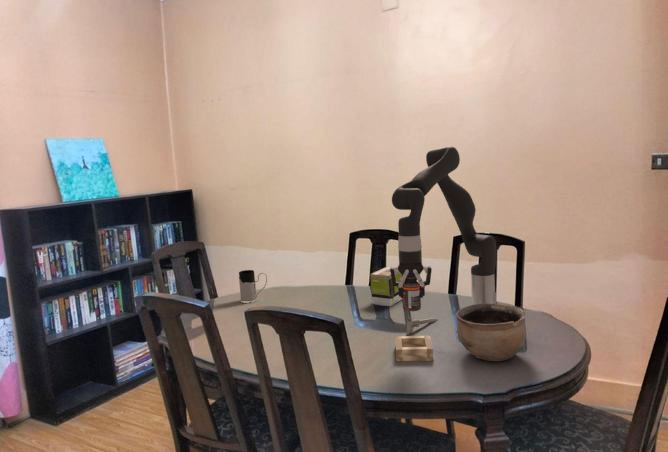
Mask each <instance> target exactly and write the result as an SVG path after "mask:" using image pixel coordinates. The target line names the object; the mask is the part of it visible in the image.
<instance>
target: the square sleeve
mask: <svg viewBox="0 0 668 452" xmlns="http://www.w3.org/2000/svg"><path fill="white" fill-rule="evenodd" d="M394 339H395V357H396V362H421V361H422V362H427V361H428V362H429V361H430V362H431V361H434V347H433V343H432V339H431V336H430V335H401V336H400V335H399V336H398V335H397V336H395V337H394Z"/></svg>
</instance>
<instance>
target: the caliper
mask: <svg viewBox="0 0 668 452" xmlns="http://www.w3.org/2000/svg"><path fill="white" fill-rule="evenodd" d="M438 320H439V319H438V318H437V317H431V318H426V319H425V318H424V319H413V318H412V317H410V318H409V317H408V319H407V321H406V335H410V334H413V333H414V329H415V328H419V326H420V325H425V324H430V323H435V322H437V321H438Z"/></svg>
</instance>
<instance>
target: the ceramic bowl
mask: <svg viewBox="0 0 668 452" xmlns="http://www.w3.org/2000/svg"><path fill="white" fill-rule="evenodd" d="M455 317H456V319H457V321H458V322H457V326H456V328H457V329H456V330H457V331H456V332H457V337H458V340H459V342H460V344H461V345H462V346H463V348H464V349H465V350H466V351H467V352H469V353H470V354H471V355H473V356H474V357H476V358H477V359H481V360H483V361H490V362H501V361H502V362H503V361H507V360H509V359H511V358H513V357H514V356H516V355H517V354H518V353H519V352H520V350H521V349H522V348H523V347H524V344H525V342H526V339H527V338H526V337H527V328H526V323H525V319H526V311H524V309H523V308H520V307H517V306H510V305H505V304H499V303H496V304H490V303H484V304H475V305H472V304H471V305H467V306H464V307H462V308H460V309H458V310H457V312H456V313H455Z"/></svg>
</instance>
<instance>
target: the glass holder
mask: <svg viewBox="0 0 668 452" xmlns="http://www.w3.org/2000/svg"><path fill="white" fill-rule="evenodd" d="M261 274H263V275H265V284H264V286H263V287H262V288H261V290H259V291H258V292H257V287H256V286H257V283H258V282H259V280H260V279H259V277H260V275H261ZM255 279H256V278H255V271H254V270H253V269H248V270H247V269H245V270H240V271H238V282H239V291H240V292H239V295H240V301H253V300H256V299H258V295H259V294H260V292H262V291H263V290H264V289H265V288H266V286H267V282H268V276H267V274H266V273H265V272H261V273H259V274H258V275H257V280H255Z"/></svg>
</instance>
